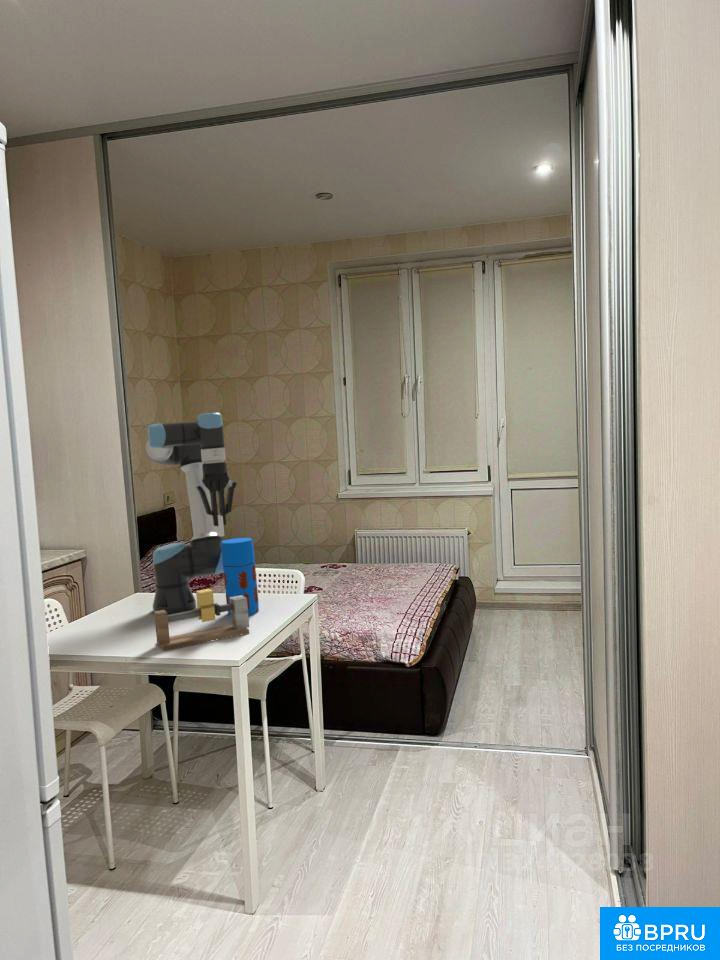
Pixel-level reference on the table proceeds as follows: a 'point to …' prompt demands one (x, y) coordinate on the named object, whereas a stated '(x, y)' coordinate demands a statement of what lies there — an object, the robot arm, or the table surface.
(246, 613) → the rod stand
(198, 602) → the sleeve
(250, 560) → the thermos
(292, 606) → the table surface
